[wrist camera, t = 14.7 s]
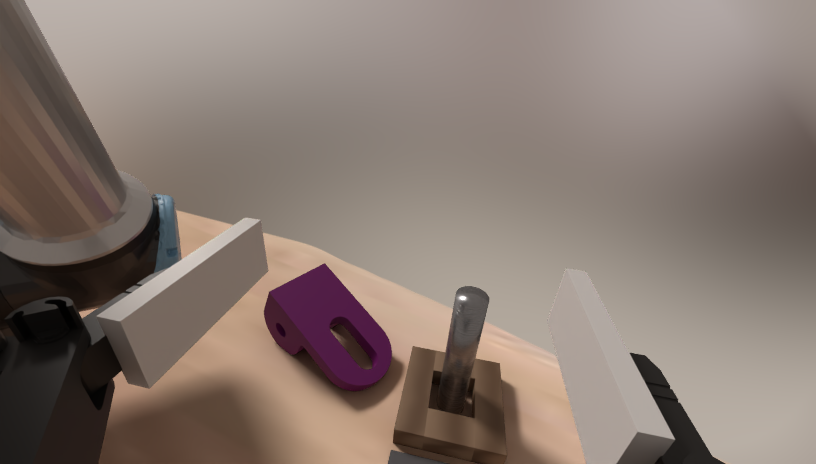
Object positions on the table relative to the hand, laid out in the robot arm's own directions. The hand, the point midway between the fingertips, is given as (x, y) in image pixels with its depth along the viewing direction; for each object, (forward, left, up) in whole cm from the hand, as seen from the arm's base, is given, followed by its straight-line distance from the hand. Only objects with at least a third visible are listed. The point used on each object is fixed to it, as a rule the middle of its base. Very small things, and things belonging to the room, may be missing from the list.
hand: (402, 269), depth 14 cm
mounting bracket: (-12, +21, -31) cm, 39 cm away
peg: (+5, +16, -30) cm, 34 cm away
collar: (+5, +16, -30) cm, 34 cm away
